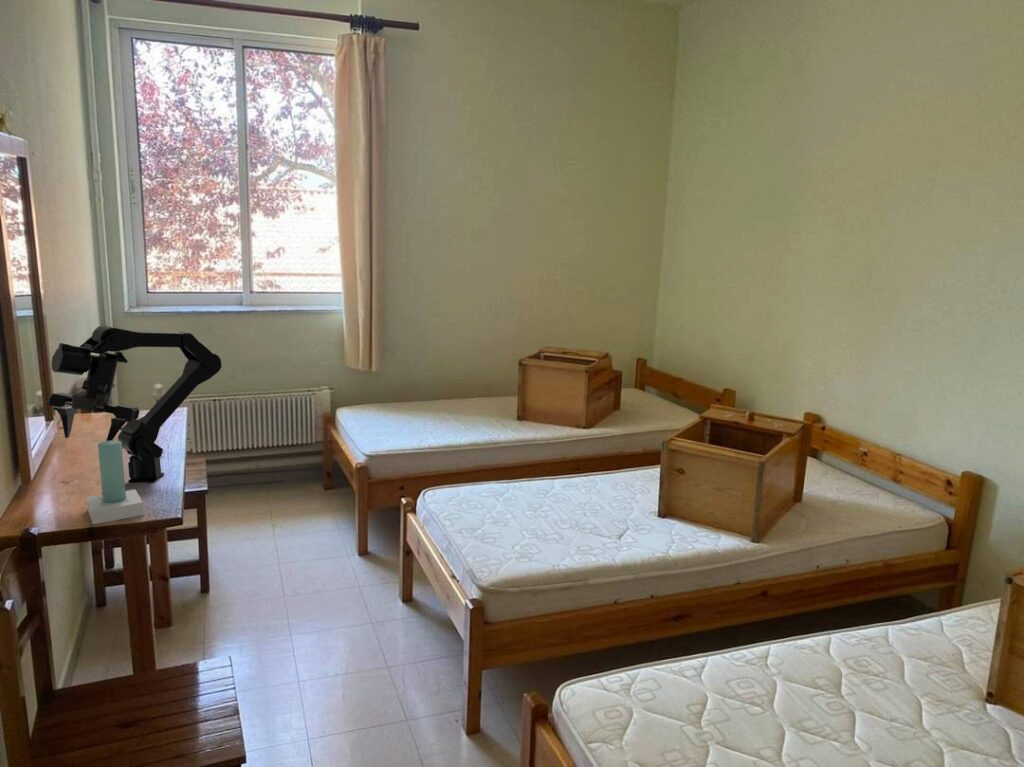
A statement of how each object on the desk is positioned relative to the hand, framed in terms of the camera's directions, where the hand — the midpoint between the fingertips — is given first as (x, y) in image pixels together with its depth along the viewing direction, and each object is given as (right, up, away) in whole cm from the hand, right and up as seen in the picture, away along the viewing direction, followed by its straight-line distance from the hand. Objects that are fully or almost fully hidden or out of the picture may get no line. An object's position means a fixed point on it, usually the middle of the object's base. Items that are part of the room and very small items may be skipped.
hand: (87, 441), depth 175 cm
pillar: (+13, -12, -12) cm, 21 cm away
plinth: (+13, -15, -11) cm, 23 cm away
